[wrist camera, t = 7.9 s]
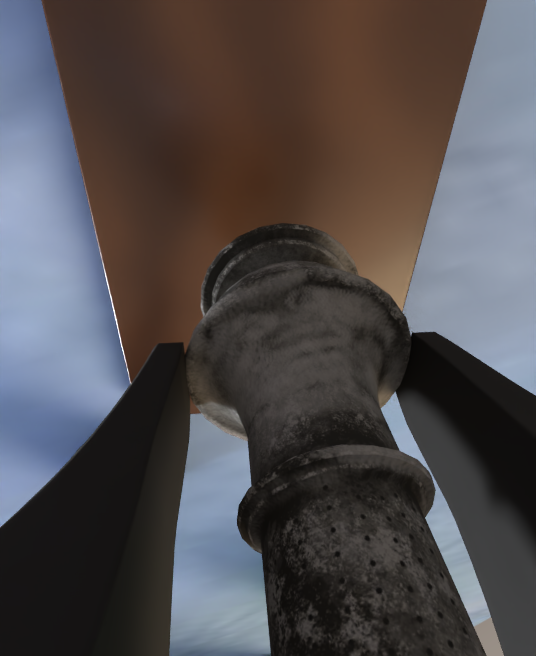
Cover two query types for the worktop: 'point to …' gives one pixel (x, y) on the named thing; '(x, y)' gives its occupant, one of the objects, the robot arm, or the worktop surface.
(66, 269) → the worktop surface
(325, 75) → the cutting board
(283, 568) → the grey stone baluster
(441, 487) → the robot arm
